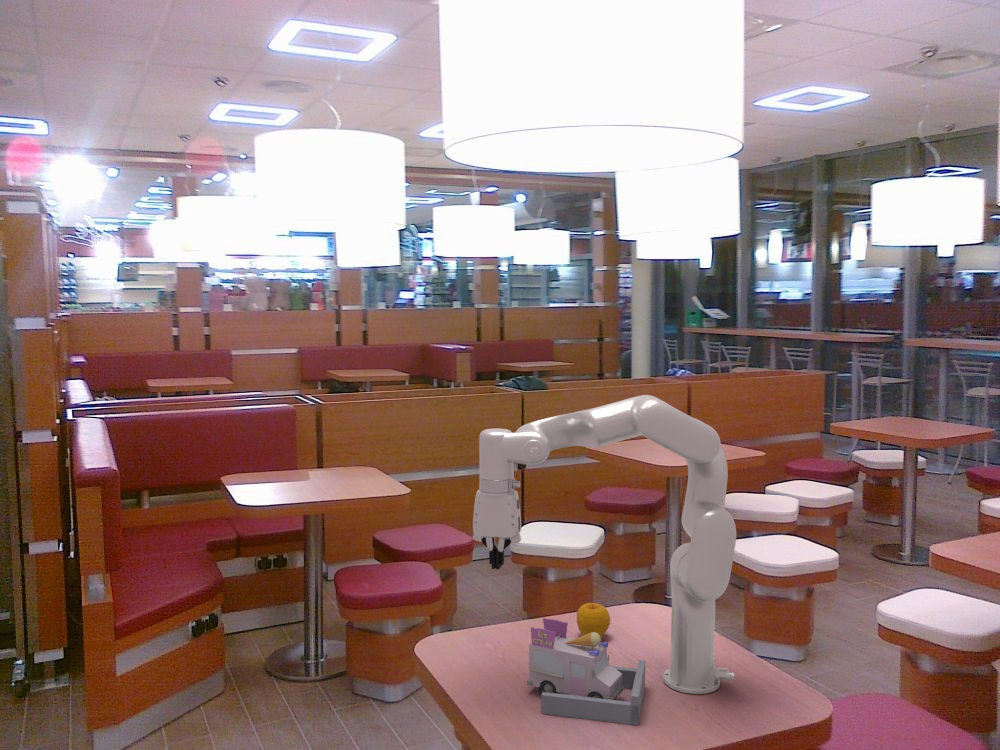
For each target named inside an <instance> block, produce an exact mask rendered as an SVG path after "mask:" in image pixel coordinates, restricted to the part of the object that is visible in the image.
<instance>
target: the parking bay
mask: <svg viewBox="0 0 1000 750" xmlns="http://www.w3.org/2000/svg"><path fill="white" fill-rule="evenodd" d="M611 666H612V667H614V668H615V669H616V670H618V671H619V672H620V673H622V686H624V689H625V688H626V689H632V690H631V694H630V701H625V700H617V699H615V700H609V699H600V698H591V697H583V696H574V695H568V694H564V693H558V692H557V693H548V692H542V691H541V697H540V698H541V699H540V700H541V702H540V709H541V710H540V714H543V715H550V716H557V717H559V716H560V717H568V718H575V719H581V720H582V719H584V720H590V721H591V720H592V721H601V722H607V723H608V722H610V723H618V724H625V725H634V726H638V725H639V721H640V716H641V711H642V710H641V709H642V704H643V700H644V693H645V688H646V660H638V661H637V666H636V668H633V667H624V666H623V667H622V666H614V665H611Z"/></svg>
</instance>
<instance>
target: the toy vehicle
mask: <svg viewBox="0 0 1000 750" xmlns="http://www.w3.org/2000/svg"><path fill="white" fill-rule="evenodd" d="M542 622H543V627H544V628H540V627H539V628H537V627H536V628H535V627H533V626H532V627H530V634H531V635H530V637H531V638H530V639H531V643H529V645H528V680H527V681H526V685H527V686H530V687H536V688H538V693H542V692H548V693H557V694H558V693H559V694H565V695H574V696H583V697H591V698H600V699H609V700H617V698H618V696H619V695H620V694H622V692H623V691H624V689H625V688H624V686H622V673H620V672H619V671H618V670H616V669H615V668H614V667H612V666H613V665H611V664H610V655H609V654H608V653H607V652H608V651H607V649H608V647H609V642H608V641H605V642H601V641H602V637H600V635H599V634H598V633H596V632H591V633H588V634H586V635H581V636H578V637H577V638H569V637H567V633H568V631H567V630H568V624H569V622H568V621H565V622H564V621H562V620H558V619H555V618H547V617H543V618H542Z"/></svg>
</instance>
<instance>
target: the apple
mask: <svg viewBox="0 0 1000 750" xmlns="http://www.w3.org/2000/svg"><path fill="white" fill-rule="evenodd" d="M576 624H577V628H578V630H579V632H580V634H581V636H583V635H586V634H588V633H591V632H596V633H598V634H599V635H600V637H601V638H602V637H603V636H604V635H605V633H606V632H607V631H608V629H609V627H610V625H611V617H610V613H609V611H608V610H607V609H606V607H605V606H604V605H602V604H599V603H596V602H587V603H583V605H581V606H579V608H578V609H577V612H576Z"/></svg>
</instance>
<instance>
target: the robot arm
mask: <svg viewBox="0 0 1000 750" xmlns="http://www.w3.org/2000/svg"><path fill="white" fill-rule="evenodd" d="M640 436H643V437H645V438H646V439H648V440H650V441H651V442H654V443H655V444H657V445H658V446H661V448H662V447H663V448H664V449H666V450H668V451H670V452H672V453H674V454H676V455H677V456H680V457H682V458H683V459H685V461H686V465H687V482H686V483H687V485H686V490H685V491H686V492H685V498H684V503H683V508H682V514H681V525H682V528H683V531H684V532H685V533H686V534H687V535H688V536H689V537H690V542H687V543H683V544H681V545H679V546H678V547H677V548H676V549H675V550H674V551H673V554H672V557H671V559H670V565H669V566H670V567H669V568H670V569H669V570H670V574H669V575H670V583H671V584H670V585H671V586H670V587H671V613H670V614H671V616H670V618H671V619H670V620H671V623H670V664H669V668H667V669H666V670H664V672H663V674H662V681H663V683H664V684H665V685H666V686H667V687H669V688H671V689H673V690H675V691H676V692H681V693H685V694H691V695H704V694H709V693H712V692H716V691H717V690H718V689H719V688H720V686H721V681H722V680H724V681H728V682H734V681H735V671H729V668H727V667H718V665H716V660H715V625H716V600H718V598H720V597H721V596H722V595H723V594H724V592H726V589H727V588H728V586H729V582H730V578H731V572H732V566H733V562H734V555H735V551H736V550H735V549H736V542H737V526H736V523H735V520H734V517H732V515H731V514H730V512H729V511H728V510H726V508H725V507H726V506H725V505H726V495H727V486H728V476H729V474H728V473H729V471H728V461H727V458H726V454H725V451H724V448H723V447H722V444H721V443H722V442H721V438H720V435H719V433H718V432H717V431H716V430H715V429H714V428H713V427H712V426H710V425H709V424H707V423H705V422H703V421H702V420H700V419H697V418H696V417H692V416H691V415H689V414H687V413H685V412H683V411H681V410H679V409H678V408H676V407H674V406H672V405H670V404H669V403H667V402H665V401H664V400H662V399H660V398H658V397H656V396H654V395H650V394H642V395H636V396H634V397H629V398H626V399H623V400H619V401H615V402H611V403H608V404H604V405H600V406H596V407H593V408H588V409H583V410H578V411H575V412H569V413H565V414H558V415H555V416H551V417H546V418H543V419H539V420H535V421H532V422H529V423H525V424H524V425H521V426H520V427H518V428H517V430H516V431H515V432H512V430H510V429H507V428H499V427H497V428H487V429H483V430H482V431H480V433H479V437H478V441H479V443H478V444H479V445H478V446H479V447H478V448H479V449H478V450H479V453H478V454H479V461H478V462H479V468H478V470H479V473H478V475H479V476H478V477H479V478H478V479H479V482H478V483H479V485H478V486H479V487H478V488H479V489H478V490H476V494H475V498H474V506H473V517H472V532H473V534H472V540H473V541H476V542H480V543H482V544H483V545H484V546H485V547H486V548H487V551H488V552H489V558H488V559H489V560H488V561H489V563H488V564H489V565H491V570H495V569H496V570H497V571H498V570H500V569H501V567H502V566H503V565H504V564H505V550H506V548H507V547H508V546H510V545H515V544H518V543H519V544H520V542H521V541H522V537H521V532H522V531H521V530H522V516H521V515H522V514H521V504H520V497H519V493H518V490H515V489H517V488H520V487H521V481H518V480H516V479H515V476H514V475H515V464H519V465H520V464H522V465H529V466H534V465H539V464H542V463H544V462H545V461H546V460H547V459H548V457H549V456H550V453H551V452H552V451H554V450H558V449H563V448H568V447H569V448H570V447H585V448H599V447H600V448H601V447H604V446H607V445H612V444H615V443H618V442H621V441H625V440H629V439H632V438H633V439H634V438H636V437H640ZM495 539H499V540H498V545H496V540H495ZM497 546H498V547H497Z"/></svg>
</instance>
